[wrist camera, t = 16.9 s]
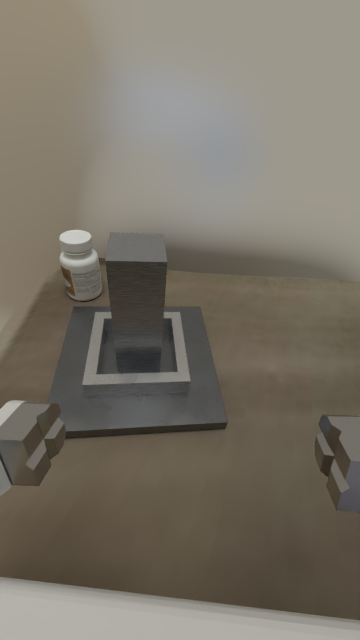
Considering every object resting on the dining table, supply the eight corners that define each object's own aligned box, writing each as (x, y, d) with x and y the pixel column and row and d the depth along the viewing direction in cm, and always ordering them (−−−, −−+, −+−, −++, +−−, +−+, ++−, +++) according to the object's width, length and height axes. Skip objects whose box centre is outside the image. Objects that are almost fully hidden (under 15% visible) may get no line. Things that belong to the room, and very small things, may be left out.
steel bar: (158, 340, 29) (163, 234, 21) (160, 370, 26) (167, 261, 18) (119, 340, 29) (110, 232, 21) (117, 372, 26) (105, 260, 18)
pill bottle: (66, 283, 37) (53, 228, 32) (100, 280, 38) (93, 226, 33) (68, 304, 34) (54, 247, 29) (104, 299, 35) (97, 244, 30)
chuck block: (198, 313, 35) (202, 295, 33) (224, 428, 24) (232, 411, 22) (75, 314, 33) (70, 294, 31) (43, 439, 22) (32, 421, 20)
